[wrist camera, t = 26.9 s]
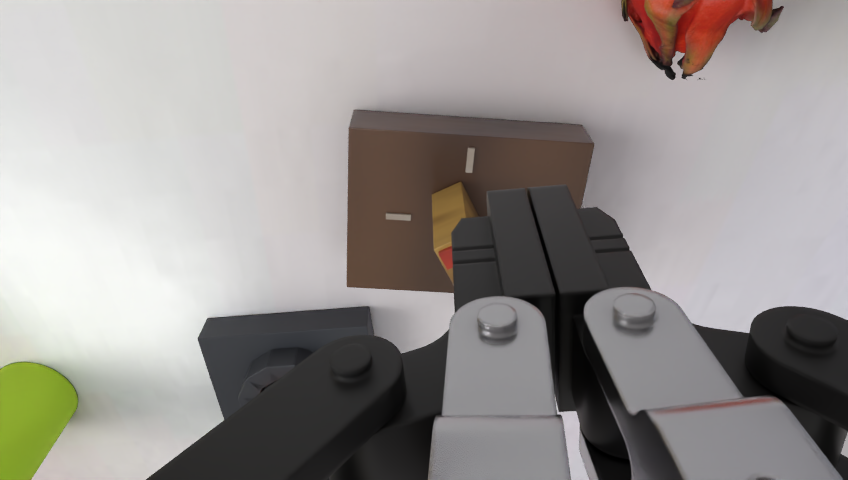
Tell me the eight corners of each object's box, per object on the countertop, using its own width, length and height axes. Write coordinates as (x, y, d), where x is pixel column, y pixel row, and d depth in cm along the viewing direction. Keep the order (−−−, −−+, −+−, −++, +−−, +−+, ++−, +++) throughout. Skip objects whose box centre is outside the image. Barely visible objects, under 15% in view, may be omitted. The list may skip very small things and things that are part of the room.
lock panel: (582, 124, 36) (595, 144, 34) (552, 272, 41) (562, 300, 38) (353, 109, 36) (348, 128, 33) (351, 261, 41) (346, 288, 38)
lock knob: (493, 245, 37) (506, 308, 31) (465, 257, 37) (472, 322, 32) (460, 181, 35) (468, 236, 29) (431, 194, 35) (433, 252, 30)
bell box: (369, 306, 42) (364, 344, 39) (385, 405, 47) (382, 448, 43) (207, 318, 43) (188, 357, 39) (237, 415, 47) (223, 458, 44)
